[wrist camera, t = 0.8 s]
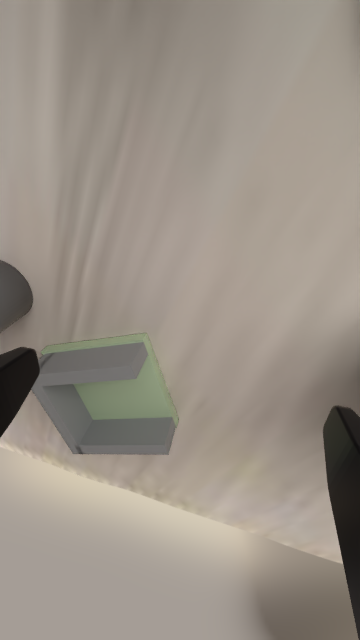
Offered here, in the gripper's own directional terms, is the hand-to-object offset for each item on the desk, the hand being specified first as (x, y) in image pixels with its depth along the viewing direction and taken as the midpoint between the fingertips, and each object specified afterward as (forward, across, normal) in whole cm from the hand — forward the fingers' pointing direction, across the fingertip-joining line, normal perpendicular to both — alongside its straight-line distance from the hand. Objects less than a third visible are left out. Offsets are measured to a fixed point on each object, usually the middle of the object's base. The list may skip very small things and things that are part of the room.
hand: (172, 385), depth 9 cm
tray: (+13, +8, +14) cm, 20 cm away
